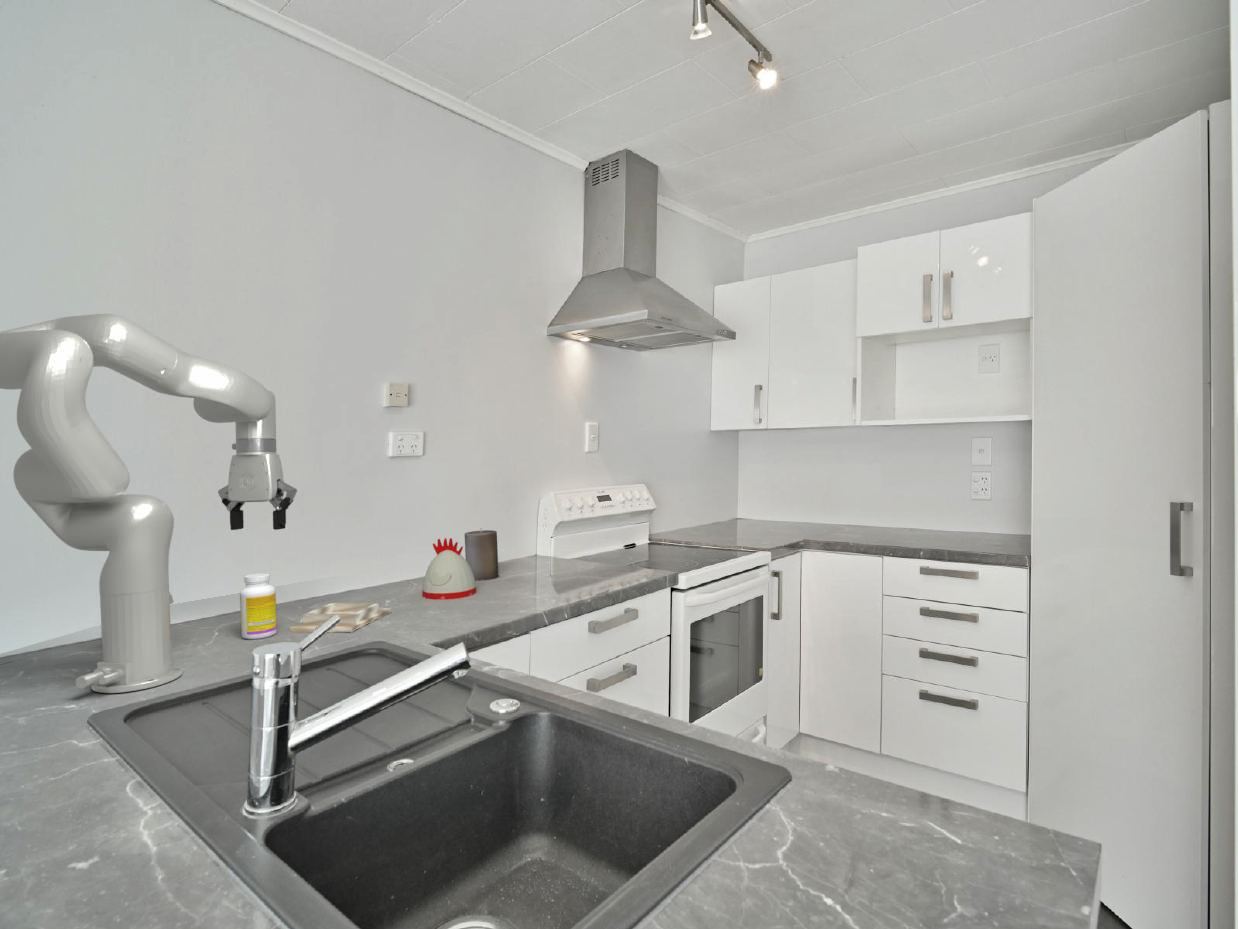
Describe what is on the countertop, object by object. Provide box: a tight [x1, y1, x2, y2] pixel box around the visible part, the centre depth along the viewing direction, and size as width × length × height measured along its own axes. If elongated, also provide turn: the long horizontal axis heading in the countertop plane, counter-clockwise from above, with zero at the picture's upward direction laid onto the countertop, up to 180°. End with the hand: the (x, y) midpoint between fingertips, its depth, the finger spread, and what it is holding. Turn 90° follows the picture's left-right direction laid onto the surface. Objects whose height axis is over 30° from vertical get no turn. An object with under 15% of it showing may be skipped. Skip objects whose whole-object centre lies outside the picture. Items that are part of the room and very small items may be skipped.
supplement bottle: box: [239, 572, 278, 640], centre depth 141 cm, size 7×7×13 cm
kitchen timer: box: [421, 537, 477, 601], centre depth 179 cm, size 14×14×15 cm
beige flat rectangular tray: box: [289, 601, 392, 634], centre depth 152 cm, size 18×14×3 cm
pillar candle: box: [464, 527, 500, 581], centre depth 202 cm, size 10×10×15 cm
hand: (258, 529), depth 142 cm, fingers open, 9 cm apart
